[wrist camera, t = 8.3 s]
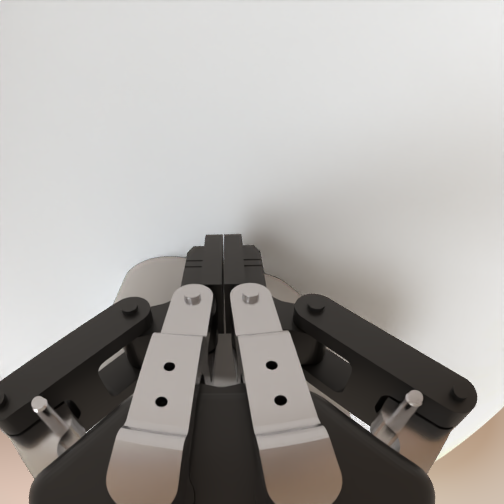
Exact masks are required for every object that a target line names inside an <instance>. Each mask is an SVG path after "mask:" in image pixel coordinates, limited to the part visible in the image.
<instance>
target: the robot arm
mask: <svg viewBox="0 0 504 504" xmlns="http://www.w3.org/2000/svg"><path fill="white" fill-rule="evenodd" d="M224 299H225V322H226V334H230V333H231V343H232V356H233V363H234V370H235V377H236V385H231V386H227V387H216V386H214V377H215V367H216V358H217V344H218V334H224ZM327 347H328V348H329V349H331V350H332V351H334V352H335V353H337V354H338V355H340V356H342V357H343V358H345V359H346V360H347V361H348V362H349V363H350V364H349V363H347V362H346V361H344V360H343V359H341V358H340V357H338V356H337V355H335V354H334V353H332V352H331V351H329V350H328V349H326V348H327ZM122 348H123V349H124V351H125V352H124V353H122V354H121V355H120V356H118V357H117V358H116V359H114V360H113V361H112V362H110V363H109V364H108V365H106V366H105V367H104V368H102V369H101V370H100V371H99V368H100V366H101V365H102V363H104V362H105V361H106V360H108V359H109V358H110V357H112V356H113V355H114V354H116V353H117V352H118V351H120V350H121V349H122ZM306 381H307V382H308V383H310V384H311V385H312V386H314V387H315V388H317V389H318V390H319V391H321V392H322V393H323V394H325V395H326V396H328V397H329V398H330V399H332V400H333V401H335V402H336V403H337V404H339V405H340V406H342V407H343V408H344V409H346V410H347V411H349V412H350V413H352V414H353V415H354V416H356V417H357V418H359V419H360V420H362V421H363V422H365V423H366V424H368V425H369V426H370V431H371V433H370V432H369V431H367V430H366V429H365V428H363V427H362V426H361V425H359V424H358V423H357V422H355V421H354V420H353V419H351V418H350V417H349V416H347V415H346V414H345V413H343V412H342V411H341V410H339V409H338V408H337V407H335V406H334V405H333V404H332V403H330V402H329V401H328V400H326V399H325V398H323V397H322V396H320V395H318V394H316V393H314V392H312V391H309V389H308V386H307V383H306ZM132 394H134V395H133V396H131V395H132ZM130 396H131V397H130ZM476 403H477V393H476V390H475V388H474V386H473V385H472V384H471V383H470V382H469V381H468V380H467V379H465V378H464V377H462V376H460V375H459V374H457V373H455V372H453V371H452V370H450V369H448V368H447V367H445V366H443V365H441V364H440V363H438V362H436V361H435V360H433V359H431V358H429V357H428V356H426V355H424V354H423V353H421V352H419V351H418V350H416V349H414V348H412V347H411V346H409V345H407V344H406V343H404V342H402V341H400V340H399V339H397V338H395V337H394V336H392V335H390V334H388V333H387V332H385V331H383V330H382V329H380V328H378V327H377V326H375V325H373V324H371V323H370V322H368V321H366V320H365V319H363V318H361V317H360V316H358V315H356V314H354V313H353V312H351V311H349V310H348V309H346V308H344V307H342V306H341V305H339V304H337V303H336V302H334V301H332V300H331V299H329V298H327V297H325V296H322V295H318V294H307V295H304V296H301V297H300V298H298V299H297V301H296V302H295V303H289V302H284V301H281V300H278V299H276V298H274V297H273V296H272V295H271V293H270V291H269V290H268V289H267V287H266V281H265V276H264V270H263V266H262V260H261V254H260V251H259V250H258V249H257V248H256V247H255V246H254V245H242V236H241V234H224V257H223V235H206V237H205V245H204V246H194V247H193V248H192V249H191V250H190V251H189V252H188V253H187V257H186V262H185V268H184V272H183V277H182V282H181V287H180V288H178V289H177V290H176V291H175V292H174V294H173V296H172V299H171V301H169V302H167V303H164V304H160V305H156V306H151V307H150V304H149V302H148V301H147V300H145V299H144V298H141V297H127V298H124V299H122V300H120V301H118V302H117V303H115V304H113V305H112V306H110V307H109V308H107V309H106V310H104V311H103V312H101V313H100V314H98V315H97V316H95V317H94V318H92V319H91V320H89V321H88V322H86V323H84V324H83V325H81V326H80V327H78V328H77V329H75V330H74V331H72V332H71V333H69V334H68V335H67V336H65V337H64V338H62V339H61V340H59V341H58V342H56V343H55V344H53V345H52V346H50V347H49V348H47V349H46V350H44V351H43V352H41V353H40V354H39V355H37V356H36V357H34V358H33V359H31V360H30V361H28V362H27V363H26V364H24V365H23V366H21V367H20V368H18V369H17V370H16V371H14V372H13V373H11V374H10V375H8V376H7V377H6V378H4V379H3V380H1V381H0V429H1V430H2V432H3V433H4V434H6V435H7V436H8V437H9V438H10V439H11V441H12V443H13V445H14V446H15V448H16V450H17V452H18V453H19V455H20V457H21V459H22V460H23V462H24V463H25V465H26V467H27V468H28V470H29V471H30V473H31V474H32V476H33V478H34V481H33V483H32V485H31V488H30V494H29V504H435V492H434V488H433V484H432V482H431V480H430V478H429V477H428V475H427V473H428V471H429V470H430V468H431V466H432V465H433V463H434V461H435V460H436V458H437V456H438V454H439V453H440V451H441V449H442V447H443V445H444V443H445V442H446V440H447V438H448V436H449V434H450V432H451V431H452V430H453V429H454V428H455V427H456V426H457V425H458V424H459V423H460V422H461V421H462V420H463V419H464V418H465V417H466V416H467V415H468V414H469V413H470V412H471V410H472V409H473V408H474V407H475V405H476ZM105 416H106V417H105ZM99 421H100V422H99ZM98 422H99V423H98ZM94 425H95V426H94ZM93 426H94V427H93ZM92 427H93V428H92ZM91 428H92V429H91ZM89 429H91V430H89ZM88 430H89V431H88ZM87 431H88V432H87ZM86 432H87V433H86Z"/></svg>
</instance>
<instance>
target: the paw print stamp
mask: <svg viewBox="0 0 504 504" xmlns="http://www.w3.org/2000/svg"><path fill="white" fill-rule="evenodd" d="M185 262H186V258H183V257H157V258H152V259H149V260H146V261H143V262H141V263H139V264H137V265H136V266H134V267H133V268H132V269H130V270H129V272H128V273H127V274H126V276H125V278H124V281H123V283H122V285H121V287H120V290H119V292H118V294H117V297H116V299H115V301H114V304H115V303H117V302H118V301H120V300H122V299H124V298H127V297H141V298H144V299H145V300H147V301H148V302H149V304H150V307H151V306H156V305H160V304H164V303H167V302H169V301H171V299H172V296H173V294H174V292H175V291H176V290H177V289H178V288H180V287H181V282H182V277H183V272H184V268H185ZM264 276H265V281H266V287H267V289H268V290H269V291H270V293H271V295H272V296H273V297H274V298H276V299H278V300H281V301H284V302H289V303H295V302H296V301H297V299H298V298H300V297H301V295H300V294H299V293H298V292H296V291H295V290H294V289H293V288H292V287H290V286H289V285H288V284H287V283H285V282H284V281H282V280H280V279H278V278H276V277H273V276H270V275H267V274H264ZM326 349H328V350H329V348H328V347H327V348H326ZM329 351H330V350H329ZM124 352H125V351H124V349H123V348H122V349H121V350H120V351H118V352H117V353H116V354H114V355H113V356H112V357H110V358H109V359H108V360H106V361H105V362H104V363H102V365H101V366H100V368H99V371H100V370H101V369H102V368H104V367H105V366H106V365H108V364H109V363H110V362H112V361H113V360H114V359H116V358H117V357H118V356H120V355H121V354H122V353H124ZM306 383H307V386H308V389H309V391H312V392H314V393H316V394H318V395H320V396H322V397H323V398H325V399H326V400H328V401H329V402H330V403H332V404H333V405H334V406H335V407H337V408H338V409H339V410H341V411H342V412H343V413H345V414H346V415H347V416H349V417H350V413H349V411H347V410H346V409H344V408H343V407H342V406H340V405H339V404H337V403H336V402H335V401H333V400H332V399H330V398H329V397H328V396H326V395H325V394H323V393H322V392H321V391H319V390H318V389H317V388H315V387H314V386H312V385H311V384H310V383H308V382H307V381H306ZM231 385H236V377H235V370H234V363H233V356H232V343H231V333H230V334H226V322H225V299H224V334H218V344H217V358H216V367H215V377H214V386H216V387H227V386H231ZM133 395H134V394H132V395H131V396H133ZM131 396H130V397H131ZM105 417H106V416H105ZM350 418H351V417H350ZM99 422H100V421H99ZM99 422H98V423H99Z"/></svg>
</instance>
